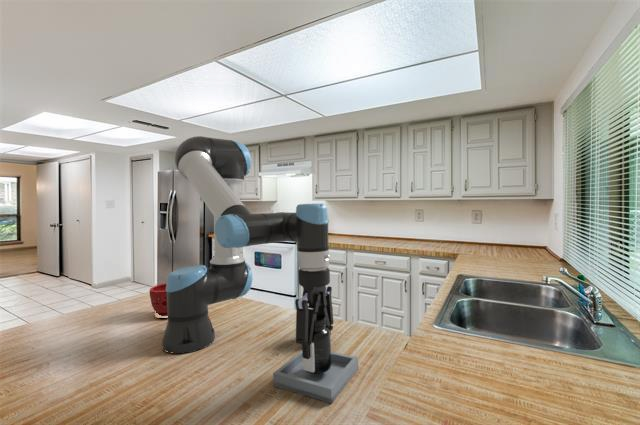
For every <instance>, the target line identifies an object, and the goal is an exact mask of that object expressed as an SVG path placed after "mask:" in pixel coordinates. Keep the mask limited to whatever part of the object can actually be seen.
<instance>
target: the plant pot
mask: <svg viewBox="0 0 640 425" xmlns="http://www.w3.org/2000/svg"><path fill="white" fill-rule="evenodd" d="M149 298H150V303H151V307H152V308H153V310H154V312H155V311H156V313H158V314H159V315H161V316H168V313H167V292H166V283H165V282H164V283H160V284H157V285H154V286H153V287H151V288H149Z"/></svg>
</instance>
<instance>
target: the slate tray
mask: <svg viewBox="0 0 640 425" xmlns="http://www.w3.org/2000/svg"><path fill="white" fill-rule="evenodd" d="M302 354H303V353H302V350H300V351H299V352H298V353H296V354H295V355H294V356H293V357H292V358H290V359H289V360H287V362H285V363H284V364H283V365H281V366H280V367H279V368H278V369H276V370H275V371H274V372H273V373H272V377H273V378H272V380H273V386H274V387H275V388H276V387H277V388H279V389H282V390H286V391H289V392H292V393H295V394H299V395H303V396H304V397H309V398H311V399H315V400H319V401H322V402H325V403H328V404H333V403H334V402H335V401H336V399H337V398H338V397H339V395H340V394H341V393H342V391H343V390H344V389H345V387H346V386H347V385H348V384H349V382H350V381H351V380H352V378H353V377H354V376H355V374H357V372H358V371H359V357H357V356H353V355H349V354H344V353H339V352H335V351H331V368H330V369H329V370H328V371H327V372H325V373H322V374H311V373H308V372H307V371H305V370H303V356H302Z"/></svg>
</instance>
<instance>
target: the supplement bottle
mask: <svg viewBox="0 0 640 425" xmlns="http://www.w3.org/2000/svg"><path fill="white" fill-rule="evenodd" d="M331 336H332V335H331ZM331 336H330V330H329V329H328V328H327V327H326V318H325V316H323V315H319V314H315V322H314V329H313V337H312V343H314V355H315V372H314V373H313V372H309V371H307V372H308V373H311V374H322V373H325V372H327V371H328V370H329V369H330V368H331V352H332V343H331V342H332V341H331Z"/></svg>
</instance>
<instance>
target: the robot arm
mask: <svg viewBox="0 0 640 425" xmlns="http://www.w3.org/2000/svg"><path fill="white" fill-rule="evenodd" d="M174 164H175V166H176V169H177V171H178V172H179V174H180V175H181V176H182V177H183V178H184V179H186V180H188V181H189V182H190V183H191V185H192V187H194V189H195V190H196V192H197V194H198V195H199V196H200V198H201V200H202V201H203V203H205V205H206V207H207V209H209V211H210V212H211V214H212V215H213V235H214V236H213V237H214V238H213V242H214V244H213V245H214V250H213V251H214V256H213V257H212V258H211V259H210V260H209V267H207V266H206V265H204V264H195V265H188V266H184V267H181V268H178V269H176V270H175V269H174V270H172V271H171V272H170V273H169V274H168V275H167V277H166V292H167V313H168V319H167V323H166V327H165V331H164V334H163V337H162V341H161V347H163V349H164V350H166V351H168V352H173V353H182V354H184V353H183V352H189V353H191V352H190V351H193V352H195V351H194V350H197V349H200V348H202V347H205V346H207V345H209V344H210V343H211V344H213V343H214V342H213V341H215V340H216V332H215V329H214V326H213V324H212V322H211V319H210V316H209V305H213V304H217V303H222V302H224V301H229V300H235V299H237V298H241V297H244V296H246V295H247V293H249V291H250V290H251V287H252V285H253V271H252V268H251V266H250V264H249V263H247V262H246V258H245V257H244V256H242V254H241V250H242V248H243V247H245V248H246V247H251V246H259V245H265V244H266V245H267V244H275V243H283V242H293V243H296V244H297V268H299V269H298V273H297V275H298V285H299V286H301V287H302V289H303V290H302V297H301V298H296V299H295V303H294V304H295V309H296V310H295V311H296V316H295V318H296V319H295V343H296V344H298V345H301V346H302V347H301V348H302V349H301V351H302V353H303V354H302V356H303V370H305V371H309V372H313V373H314V372H315V355H314V343H312V337H313V329H314V322H315V314H316V313H317V314H319V315H323V316H325V318H326V327H327V328H328V329H329V330H331V331H333V329H334V326H333V324H334V314H333V313H334V312H333V311H334V310H332V307H333V301H332V293H333V292H332V290H333V288H332V286H328V285H329V284H330V282H331V277H330V276H331V274H330V273H331V270H330V269H329V266H330V257H331V254H330V251H329V250H330V246H329V216H328V215H329V214H328V208H327V205H326V204H324V203H300V204H297V206H296V209H295V212H291V211H290V212H286V211H285V212H284V211H281V212H279V211H278V212H271V213H269V212H267V213H252V212H251V211H250V210H249V209H248V208H247V207H246V206H245V205H244V203H243V202H242V200H241V191H240V190H241V185H242V184H243V183H244V182H245V176H247V175H249V173H251V172H250V171H251V170H250V169H252V157H251V154H250V151H249V149H248V147H247V146H246V145H245V144H244V143H242V142H240V141H234V140H230V139H223V138H222V139H221V138H215V137H208V136H207V137H206V136H201V135H199V136H192V137H189V138H186V139H184V141H182V142H181V143H180V144H179V146H177V148H176V150H175V155H174ZM308 308H313V309H308ZM330 325H331V326H330ZM214 339H215V340H214ZM212 342H213V343H212ZM211 344H210V345H211ZM210 345H209V346H210ZM207 347H208V346H207ZM205 348H206V347H205ZM163 349H162V350H163ZM200 350H201V349H200ZM197 351H198V350H197Z"/></svg>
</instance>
